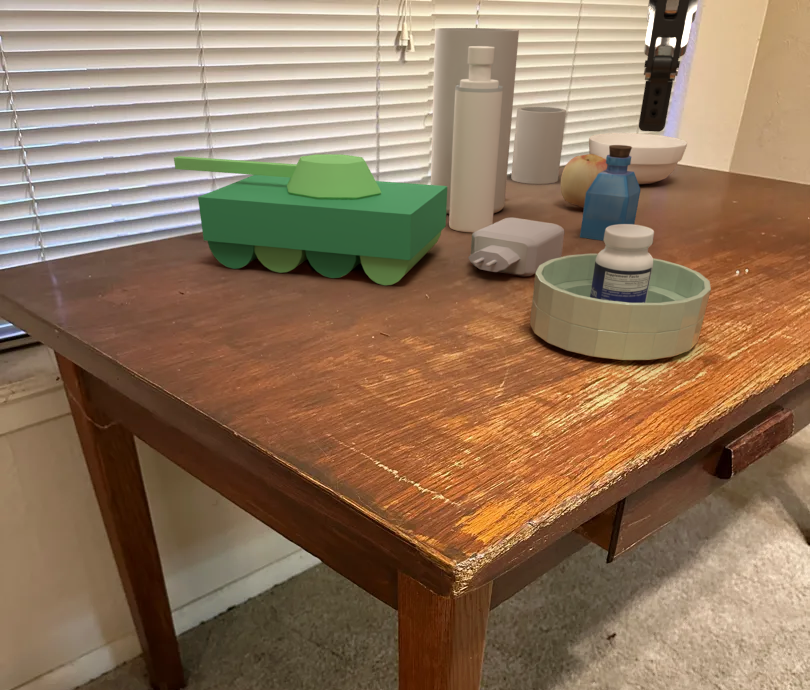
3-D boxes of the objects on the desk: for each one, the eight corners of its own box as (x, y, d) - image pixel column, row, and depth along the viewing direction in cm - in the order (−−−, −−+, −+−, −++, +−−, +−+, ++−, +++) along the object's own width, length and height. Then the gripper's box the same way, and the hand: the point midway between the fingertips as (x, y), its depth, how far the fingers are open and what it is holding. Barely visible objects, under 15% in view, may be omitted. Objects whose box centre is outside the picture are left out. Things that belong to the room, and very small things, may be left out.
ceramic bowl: (716, 327, 82) (730, 271, 79) (665, 380, 70) (679, 317, 67) (569, 297, 90) (576, 245, 86) (501, 340, 78) (507, 282, 75)
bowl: (627, 169, 158) (633, 130, 154) (698, 184, 146) (708, 142, 142) (564, 177, 150) (569, 137, 146) (634, 194, 138) (642, 150, 134)
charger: (446, 278, 95) (499, 251, 106) (512, 291, 91) (560, 262, 102) (448, 239, 92) (502, 215, 103) (516, 250, 89) (565, 225, 99)
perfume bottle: (620, 243, 110) (636, 151, 103) (579, 237, 113) (592, 147, 106) (632, 233, 115) (648, 145, 108) (593, 228, 117) (606, 142, 110)
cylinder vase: (432, 199, 133) (437, 27, 118) (503, 201, 132) (517, 28, 117) (427, 215, 123) (432, 30, 108) (504, 218, 122) (520, 31, 107)
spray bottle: (451, 221, 120) (460, 31, 105) (493, 223, 119) (508, 32, 104) (446, 231, 114) (455, 33, 100) (490, 233, 114) (505, 34, 99)
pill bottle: (589, 316, 83) (604, 220, 77) (642, 323, 81) (662, 225, 75) (581, 333, 78) (596, 233, 72) (637, 341, 77) (658, 239, 71)
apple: (583, 200, 133) (591, 150, 129) (621, 210, 127) (630, 158, 123) (546, 206, 129) (552, 154, 125) (583, 216, 123) (591, 162, 119)
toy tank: (206, 139, 106) (448, 154, 98) (217, 231, 113) (444, 252, 105) (135, 159, 92) (411, 178, 84) (153, 262, 99) (409, 289, 91)
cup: (521, 184, 144) (527, 113, 137) (504, 175, 151) (510, 107, 144) (565, 183, 146) (574, 112, 139) (546, 174, 153) (554, 106, 146)
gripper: (749, -121, 53) (696, 138, 63) (737, -101, 64) (694, 116, 74) (639, -118, 55) (604, 134, 64) (646, -99, 66) (615, 113, 75)
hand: (652, 124), depth 69 cm, fingers open, 8 cm apart
